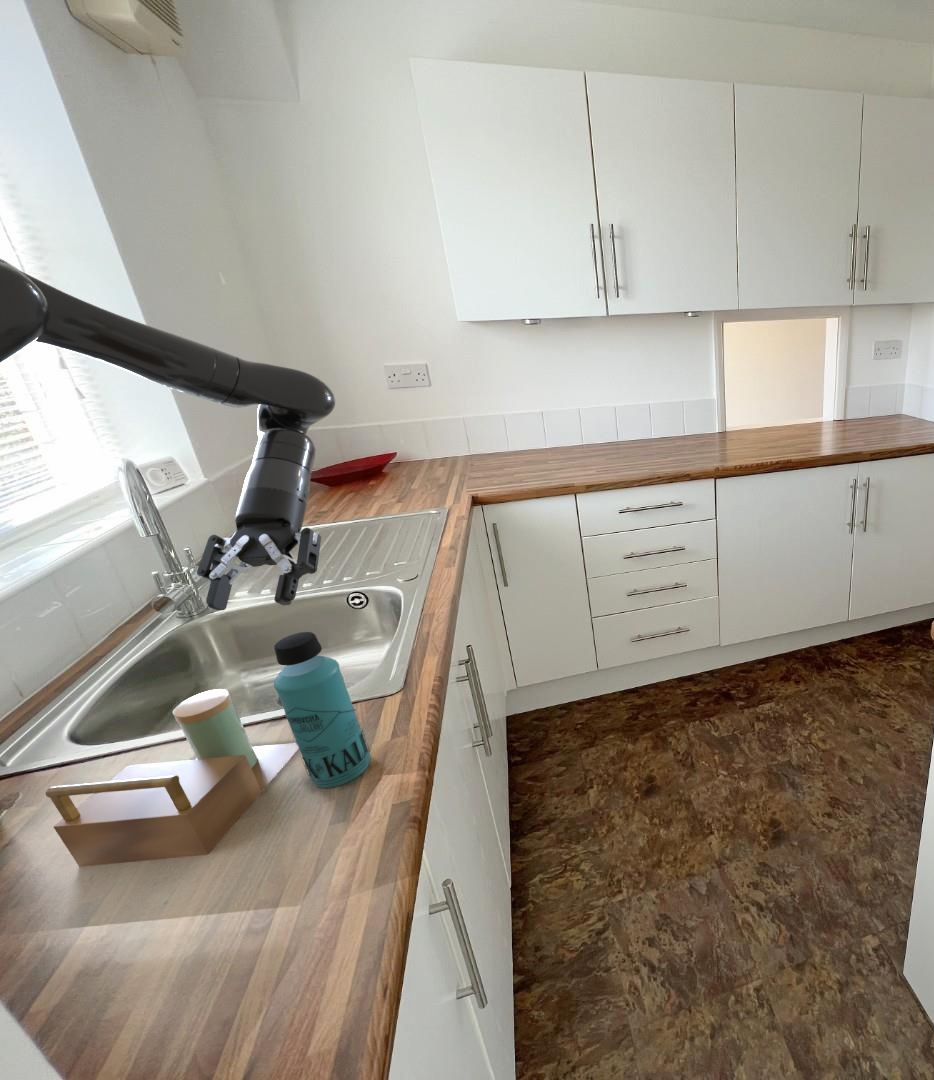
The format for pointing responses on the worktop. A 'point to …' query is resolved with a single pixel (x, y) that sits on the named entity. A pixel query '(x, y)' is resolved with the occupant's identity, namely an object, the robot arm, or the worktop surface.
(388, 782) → the worktop surface
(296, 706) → the beverage bottle
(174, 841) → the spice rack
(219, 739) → the spice jar
